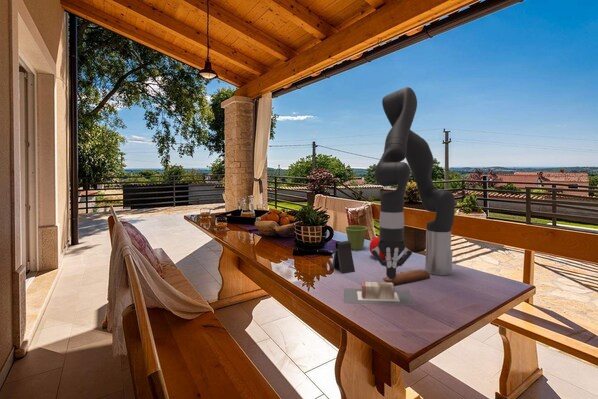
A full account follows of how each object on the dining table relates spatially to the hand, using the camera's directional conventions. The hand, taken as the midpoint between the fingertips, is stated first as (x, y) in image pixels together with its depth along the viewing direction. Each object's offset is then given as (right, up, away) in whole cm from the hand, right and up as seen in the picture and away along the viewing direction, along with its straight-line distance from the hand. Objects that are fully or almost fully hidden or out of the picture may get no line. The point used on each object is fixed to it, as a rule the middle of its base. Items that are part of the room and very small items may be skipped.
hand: (390, 278), depth 102 cm
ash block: (+1, -4, 0) cm, 4 cm away
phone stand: (-11, -4, +31) cm, 34 cm away
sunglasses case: (+10, -6, +17) cm, 21 cm away
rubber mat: (-4, -7, +1) cm, 8 cm away
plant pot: (0, -1, +65) cm, 65 cm away
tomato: (+10, -2, +48) cm, 49 cm away
